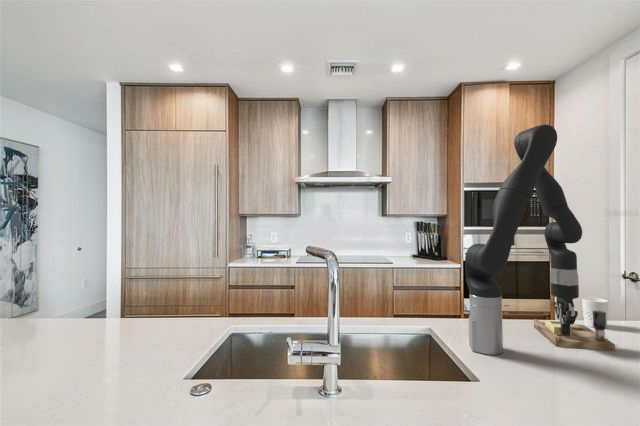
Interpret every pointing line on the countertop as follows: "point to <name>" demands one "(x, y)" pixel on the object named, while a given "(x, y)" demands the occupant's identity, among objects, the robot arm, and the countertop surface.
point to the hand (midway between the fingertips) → (565, 335)
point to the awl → (599, 325)
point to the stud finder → (555, 327)
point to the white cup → (593, 309)
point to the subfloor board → (574, 337)
